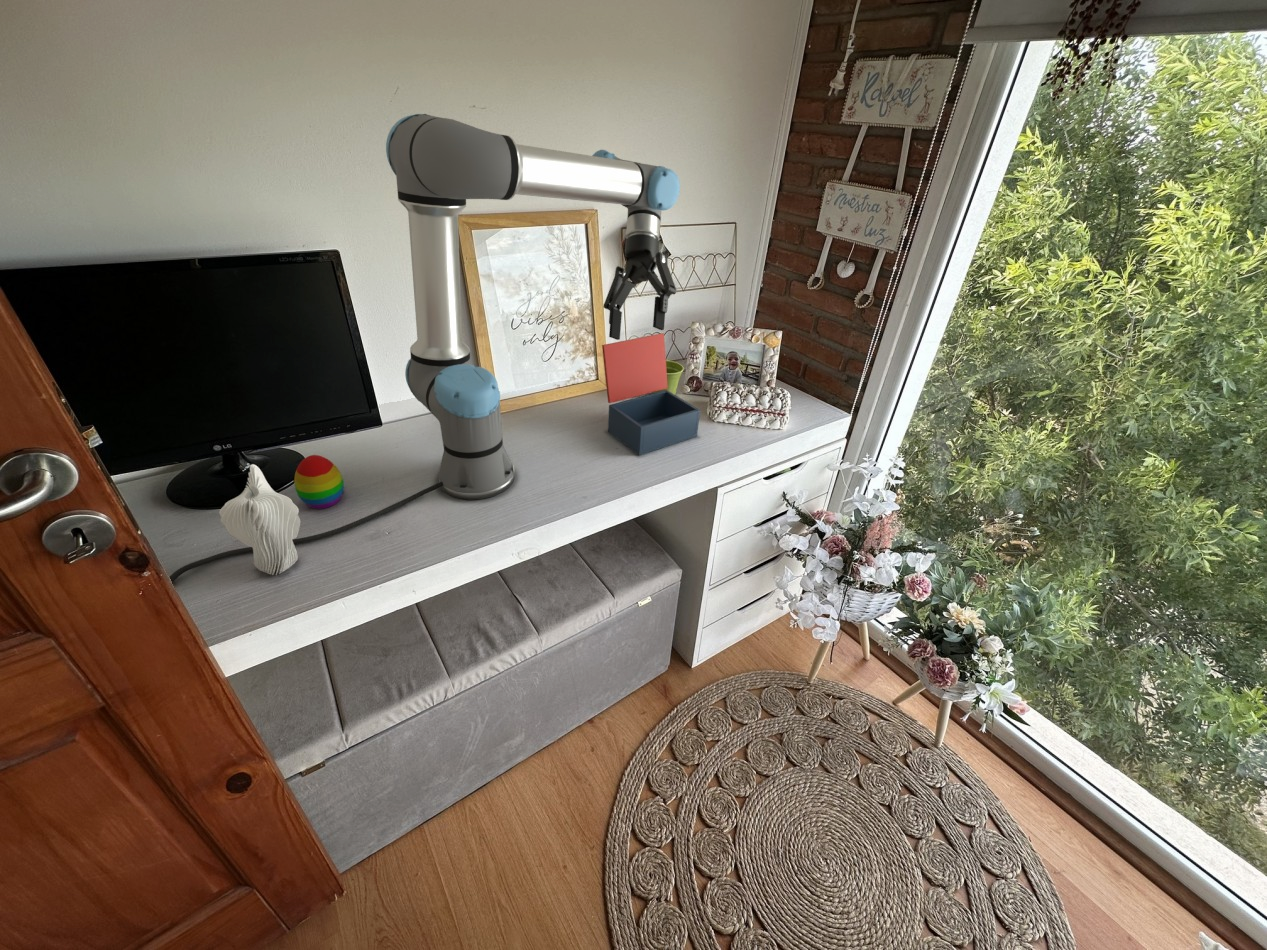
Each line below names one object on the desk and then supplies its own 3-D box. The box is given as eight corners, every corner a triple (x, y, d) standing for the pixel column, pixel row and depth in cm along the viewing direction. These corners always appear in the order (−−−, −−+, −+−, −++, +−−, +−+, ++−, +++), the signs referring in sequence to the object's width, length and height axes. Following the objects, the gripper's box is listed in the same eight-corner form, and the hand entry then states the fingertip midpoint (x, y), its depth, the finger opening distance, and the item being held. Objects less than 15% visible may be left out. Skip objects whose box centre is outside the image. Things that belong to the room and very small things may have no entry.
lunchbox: (697, 436, 142) (700, 410, 138) (639, 455, 133) (641, 427, 129) (664, 415, 151) (666, 389, 147) (607, 431, 142) (608, 404, 138)
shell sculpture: (278, 589, 93) (243, 498, 83) (240, 574, 95) (202, 483, 85) (319, 558, 99) (291, 470, 89) (283, 545, 101) (252, 457, 92)
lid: (664, 333, 141) (662, 333, 142) (603, 345, 132) (601, 345, 133) (667, 388, 146) (665, 387, 147) (609, 403, 138) (608, 402, 138)
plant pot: (664, 385, 167) (667, 357, 162) (687, 397, 161) (690, 368, 156) (639, 393, 161) (641, 364, 157) (662, 406, 155) (665, 376, 151)
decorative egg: (291, 506, 111) (276, 462, 105) (323, 485, 117) (311, 442, 112) (325, 517, 108) (311, 472, 103) (356, 494, 115) (345, 451, 110)
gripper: (697, 231, 124) (690, 328, 122) (616, 260, 141) (609, 345, 140) (674, 216, 118) (666, 318, 117) (593, 248, 136) (585, 337, 134)
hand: (635, 333), depth 128 cm, fingers open, 13 cm apart
